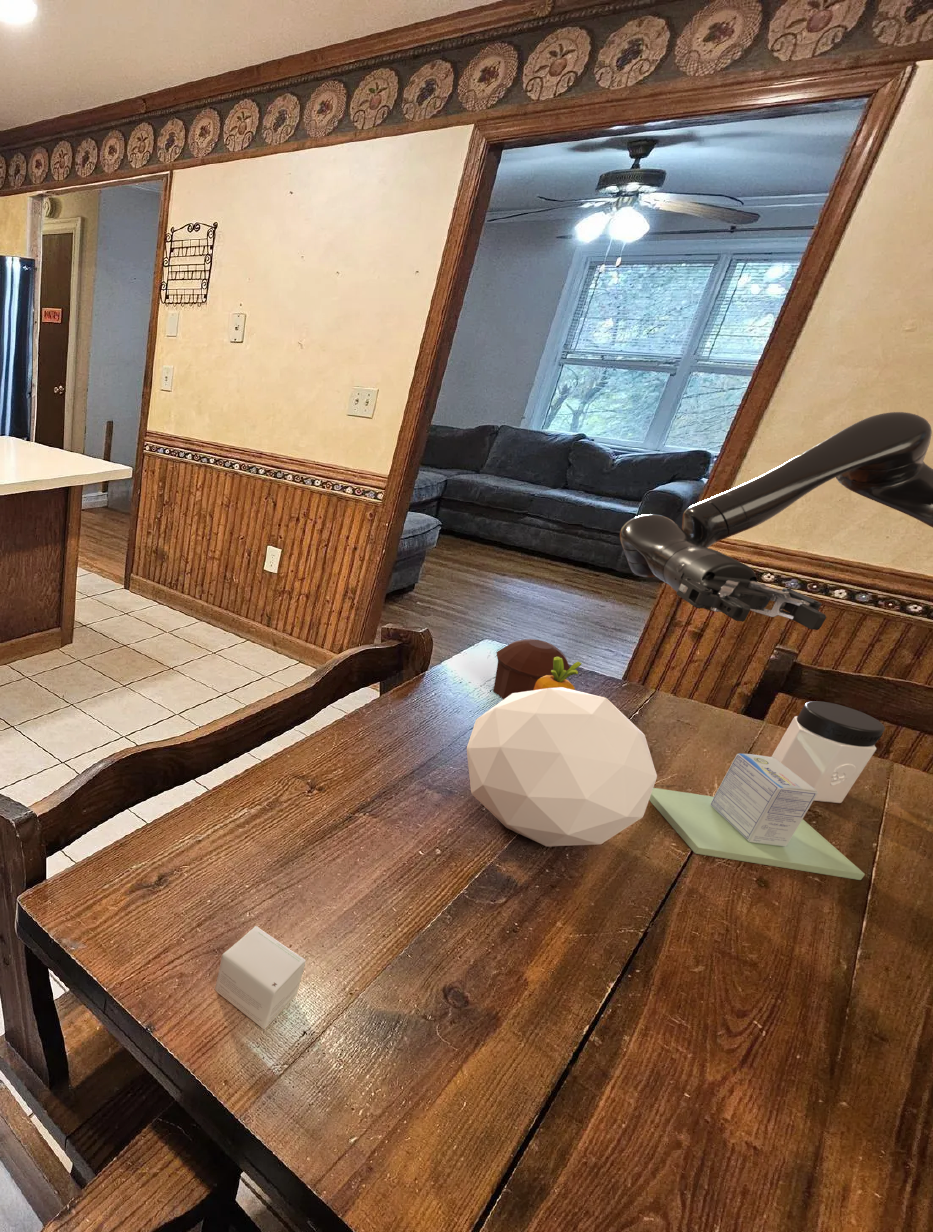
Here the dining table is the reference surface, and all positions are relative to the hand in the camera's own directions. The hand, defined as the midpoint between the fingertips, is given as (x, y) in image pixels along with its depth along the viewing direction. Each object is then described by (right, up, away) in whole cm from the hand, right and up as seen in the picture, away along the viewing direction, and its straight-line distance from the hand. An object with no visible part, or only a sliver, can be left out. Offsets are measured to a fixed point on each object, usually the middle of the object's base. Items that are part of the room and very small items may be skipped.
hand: (781, 618), depth 92 cm
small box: (-74, -37, -25) cm, 87 cm away
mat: (-4, -28, +1) cm, 28 cm away
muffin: (-13, -12, +33) cm, 38 cm away
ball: (-32, -27, +1) cm, 42 cm away
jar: (+15, -24, +12) cm, 31 cm away
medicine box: (-4, -27, +1) cm, 27 cm away
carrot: (-20, -19, +19) cm, 33 cm away
